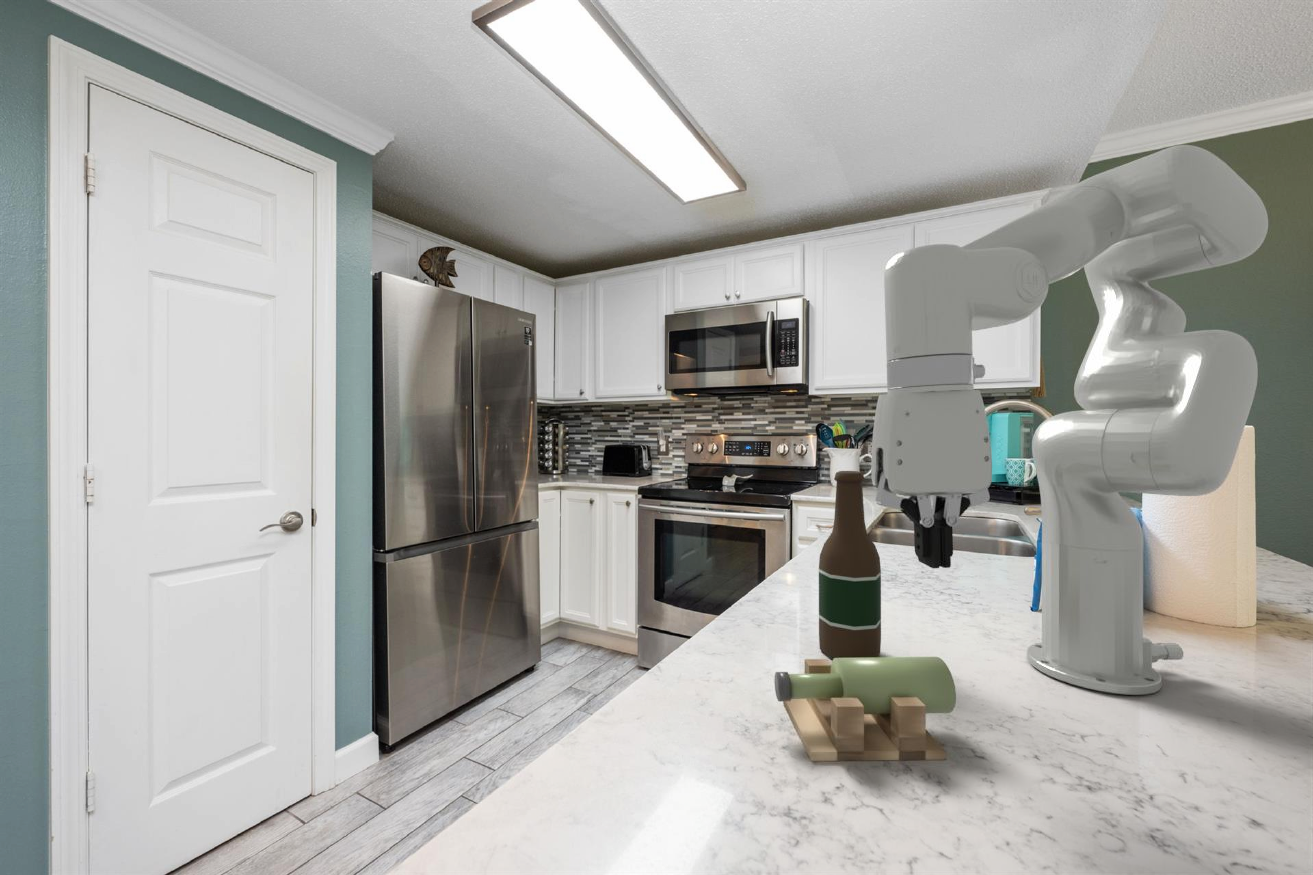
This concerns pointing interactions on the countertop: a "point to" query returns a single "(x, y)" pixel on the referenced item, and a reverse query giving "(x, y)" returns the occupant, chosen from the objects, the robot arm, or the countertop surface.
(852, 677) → the bottle
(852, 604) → the beer bottle
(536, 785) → the countertop surface
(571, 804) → the countertop surface
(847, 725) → the rest
